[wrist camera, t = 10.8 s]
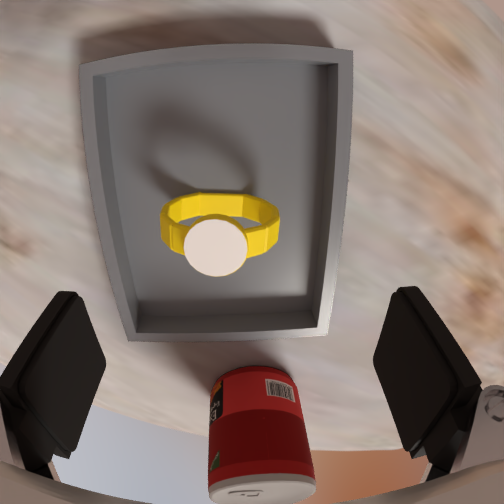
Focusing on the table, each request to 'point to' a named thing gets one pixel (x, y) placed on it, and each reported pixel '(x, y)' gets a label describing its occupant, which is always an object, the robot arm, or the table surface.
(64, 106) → the table surface
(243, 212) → the watch
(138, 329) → the tray
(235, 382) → the canned food
